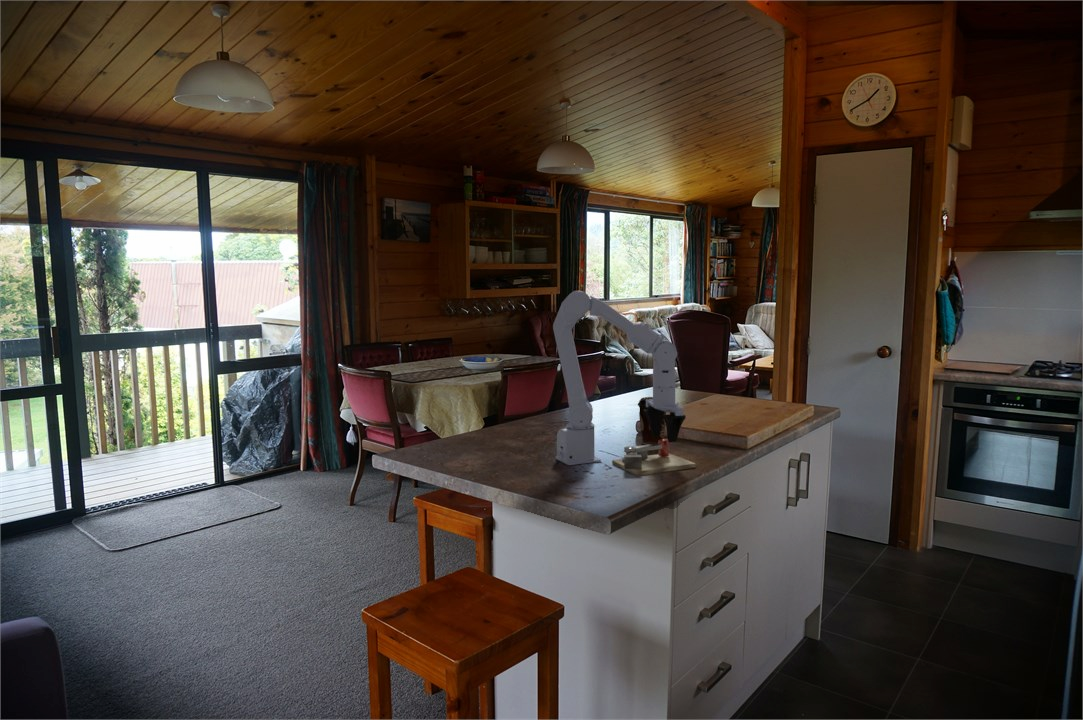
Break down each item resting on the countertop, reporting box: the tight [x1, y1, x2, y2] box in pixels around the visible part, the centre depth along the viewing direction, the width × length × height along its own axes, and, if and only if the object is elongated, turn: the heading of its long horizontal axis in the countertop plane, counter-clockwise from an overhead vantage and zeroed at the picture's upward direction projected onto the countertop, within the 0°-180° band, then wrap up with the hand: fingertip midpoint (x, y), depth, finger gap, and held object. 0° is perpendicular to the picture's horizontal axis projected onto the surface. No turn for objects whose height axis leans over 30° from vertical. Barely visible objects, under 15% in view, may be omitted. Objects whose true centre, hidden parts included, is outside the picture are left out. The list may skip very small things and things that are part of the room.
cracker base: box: [611, 452, 697, 477], centre depth 177 cm, size 18×12×4 cm, turn 113°
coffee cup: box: [637, 396, 667, 445], centre depth 201 cm, size 9×8×13 cm
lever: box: [623, 438, 670, 460], centre depth 180 cm, size 13×3×4 cm, turn 113°
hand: (664, 438), depth 182 cm, fingers open, 7 cm apart
